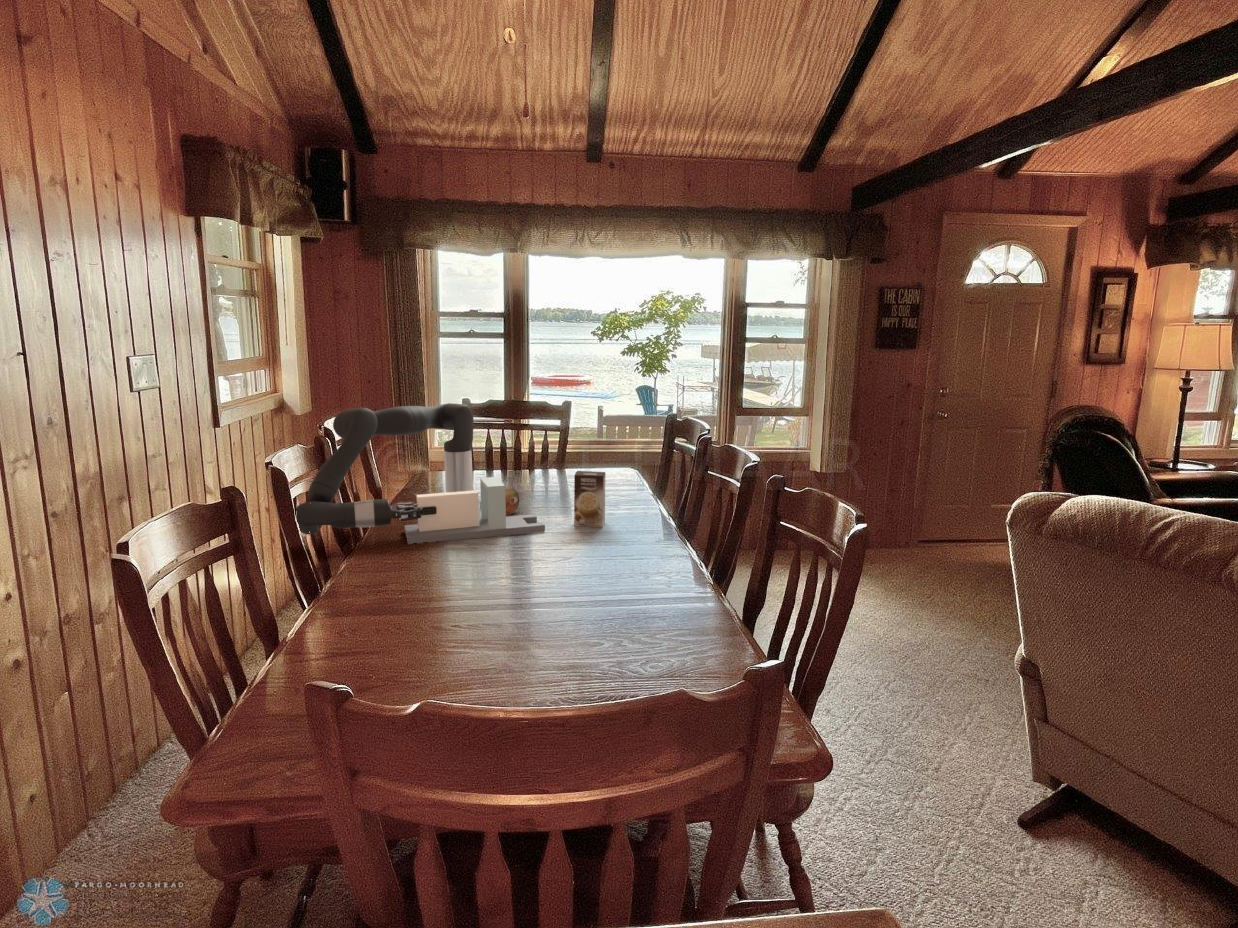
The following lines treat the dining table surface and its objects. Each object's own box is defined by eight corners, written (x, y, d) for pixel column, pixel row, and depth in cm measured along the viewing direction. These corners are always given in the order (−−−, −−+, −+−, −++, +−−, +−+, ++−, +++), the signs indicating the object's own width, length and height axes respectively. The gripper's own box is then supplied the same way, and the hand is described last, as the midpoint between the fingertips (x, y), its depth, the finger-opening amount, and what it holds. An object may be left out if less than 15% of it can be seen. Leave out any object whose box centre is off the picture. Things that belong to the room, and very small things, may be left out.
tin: (485, 521, 225) (485, 495, 223) (478, 519, 227) (478, 493, 225) (520, 511, 237) (519, 486, 235) (513, 510, 239) (512, 485, 237)
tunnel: (481, 518, 220) (480, 478, 217) (497, 517, 222) (496, 476, 219) (488, 529, 208) (487, 486, 206) (506, 528, 210) (505, 485, 208)
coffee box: (573, 526, 220) (572, 474, 217) (576, 521, 226) (576, 470, 223) (603, 527, 219) (603, 475, 216) (605, 521, 225) (605, 471, 222)
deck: (404, 531, 213) (404, 525, 212) (534, 520, 226) (534, 514, 226) (408, 544, 201) (407, 537, 200) (544, 531, 214) (544, 525, 214)
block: (418, 528, 209) (416, 494, 207) (477, 523, 215) (476, 490, 213) (419, 531, 206) (417, 497, 204) (479, 526, 212) (478, 492, 210)
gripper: (372, 506, 195) (437, 501, 201) (370, 494, 208) (432, 490, 214) (374, 533, 197) (439, 527, 202) (372, 519, 210) (433, 515, 215)
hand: (435, 508), depth 208 cm, fingers closed on block, 3 cm apart
